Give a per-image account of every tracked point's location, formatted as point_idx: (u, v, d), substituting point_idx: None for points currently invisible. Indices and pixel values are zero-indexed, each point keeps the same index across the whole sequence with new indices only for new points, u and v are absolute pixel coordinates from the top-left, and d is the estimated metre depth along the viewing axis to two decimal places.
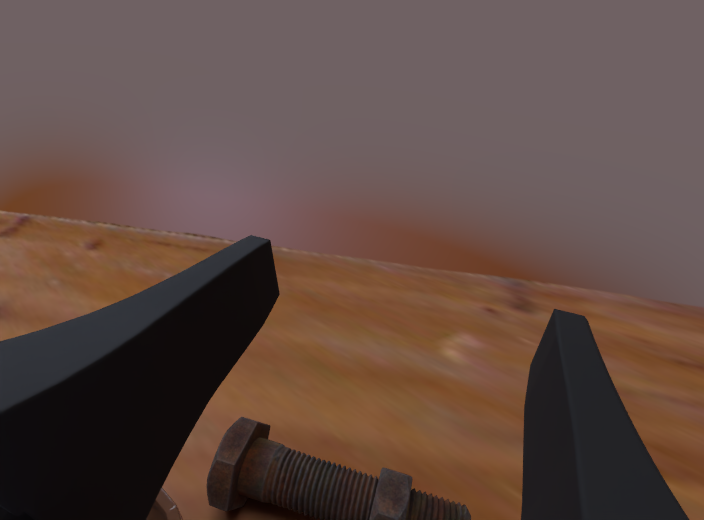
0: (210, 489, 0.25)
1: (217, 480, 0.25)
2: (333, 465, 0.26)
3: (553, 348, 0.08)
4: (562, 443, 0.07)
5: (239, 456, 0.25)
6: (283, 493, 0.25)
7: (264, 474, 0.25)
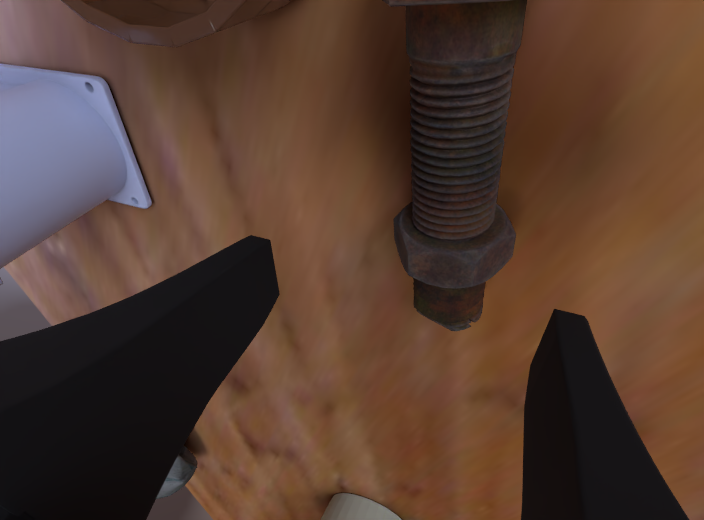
0: None
1: None
2: (479, 171, 0.14)
3: (553, 348, 0.08)
4: (562, 443, 0.07)
5: (411, 4, 0.11)
6: (413, 97, 0.14)
7: (421, 57, 0.12)
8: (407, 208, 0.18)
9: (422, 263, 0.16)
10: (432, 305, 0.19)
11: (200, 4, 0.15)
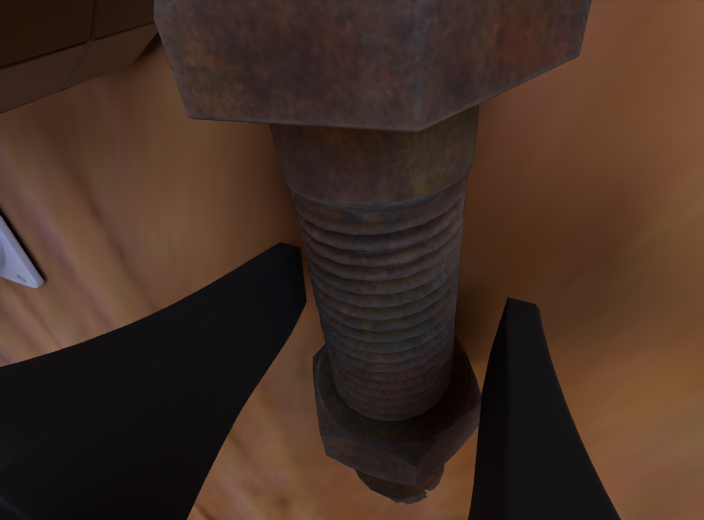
0: None
1: None
2: (414, 345, 0.09)
3: (502, 334, 0.09)
4: (500, 422, 0.07)
5: (228, 120, 0.05)
6: (301, 230, 0.08)
7: (293, 185, 0.07)
8: None
9: (342, 448, 0.11)
10: None
11: None
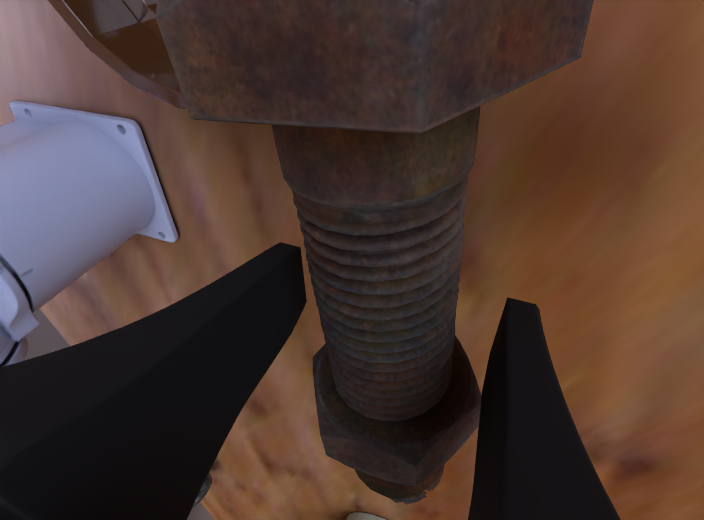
0: None
1: None
2: (414, 346, 0.09)
3: (502, 334, 0.09)
4: (499, 423, 0.07)
5: (230, 121, 0.05)
6: None
7: (294, 185, 0.07)
8: None
9: (342, 448, 0.11)
10: None
11: None
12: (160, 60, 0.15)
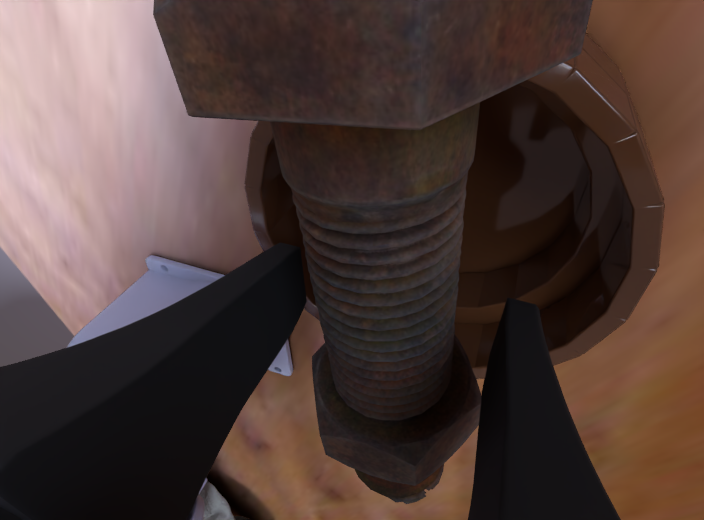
0: None
1: None
2: (414, 345, 0.09)
3: (502, 334, 0.09)
4: (499, 423, 0.07)
5: (227, 118, 0.05)
6: (301, 229, 0.08)
7: (293, 183, 0.07)
8: None
9: (341, 447, 0.11)
10: None
11: None
12: None
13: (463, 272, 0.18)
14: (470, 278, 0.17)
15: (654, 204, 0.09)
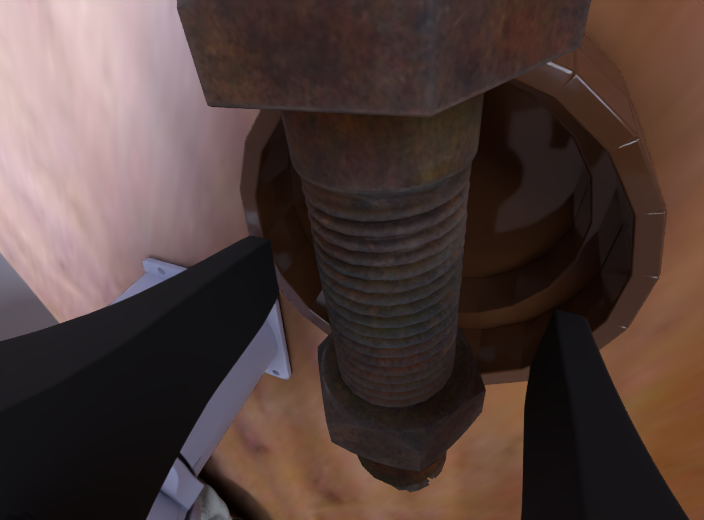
0: None
1: None
2: (419, 331, 0.09)
3: (553, 348, 0.08)
4: (562, 443, 0.07)
5: (245, 108, 0.05)
6: (309, 219, 0.08)
7: (304, 173, 0.07)
8: None
9: (347, 434, 0.11)
10: None
11: None
12: None
13: None
14: (469, 283, 0.17)
15: (656, 211, 0.09)
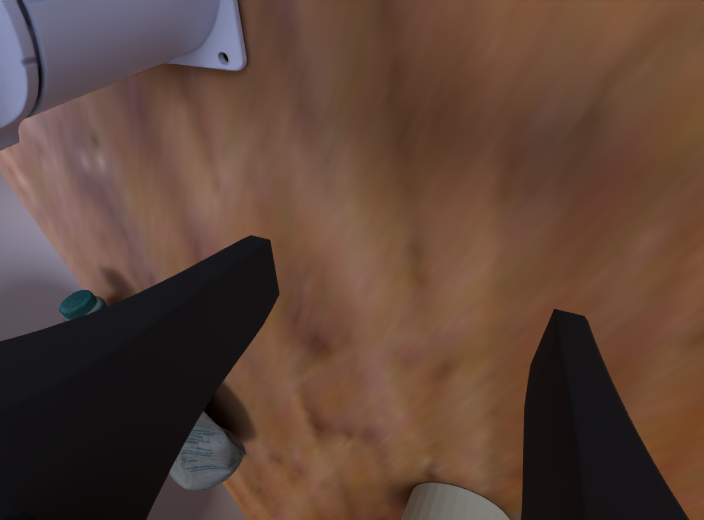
0: None
1: None
2: None
3: (553, 348, 0.08)
4: (562, 443, 0.07)
5: None
6: None
7: None
8: None
9: None
10: None
11: None
12: None
13: None
14: None
15: None
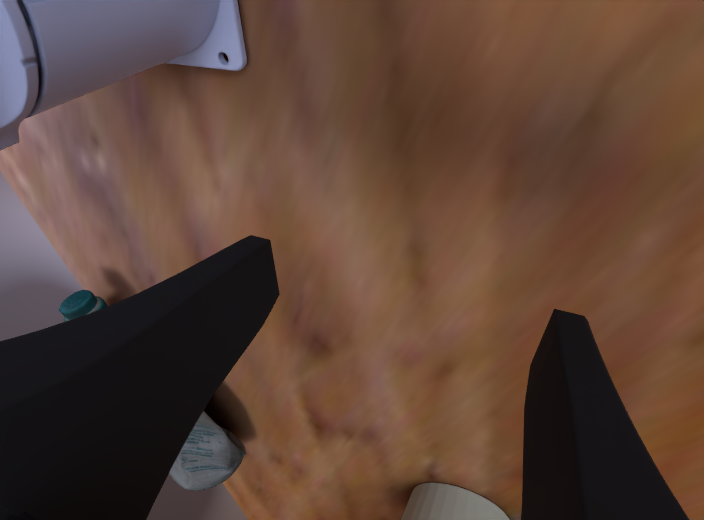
0: None
1: None
2: None
3: (553, 348, 0.08)
4: (562, 443, 0.07)
5: None
6: None
7: None
8: None
9: None
10: None
11: None
12: None
13: None
14: None
15: None
